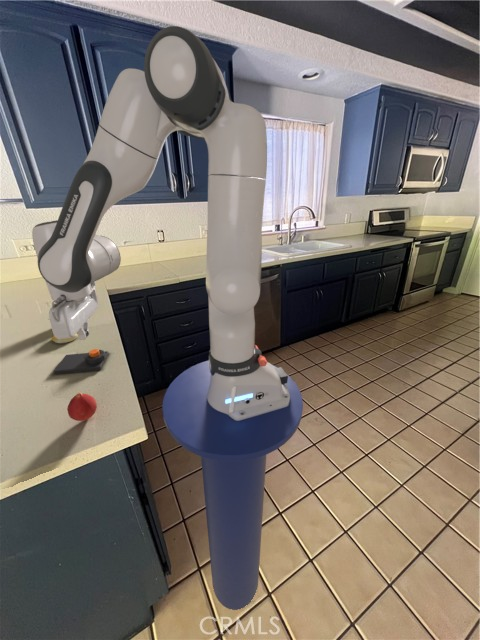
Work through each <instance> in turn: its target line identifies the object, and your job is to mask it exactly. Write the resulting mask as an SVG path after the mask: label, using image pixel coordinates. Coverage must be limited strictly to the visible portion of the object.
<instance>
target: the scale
mask: <svg viewBox="0 0 480 640" xmlns="http://www.w3.org/2000/svg"><path fill="white" fill-rule="evenodd" d="M98 350H99V353H100V355H99V356H97V357H92V358H91V357H90V355H89V352H83V353H81V352H80V353H72V354H71V353H70V354H65V356H64V357H63V358H62V359H61V361H60V362H59V363H58V365H57V366H56V367H55V368H54V370H53V374H54V375H59V374H71V373H81V372H91V371H101V370H102V369H103V366H104V364H105V363H106V361H107V359H108V357H109V355H110V353H109V350H106V351H105V350H103V349H98Z"/></svg>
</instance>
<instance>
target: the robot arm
mask: <svg viewBox="0 0 480 640" xmlns="http://www.w3.org/2000/svg"><path fill="white" fill-rule="evenodd" d="M145 51H146V52H145V55H144V62H143V63H144V64H143V70H141V69H138V68H129V67H128V68H125V69H123V70H122V71H120V72H119V74H118V75H117V77H116V79H115V82H114V83H113V85H112V87H111V89H110V92H109V94H108V96H107V99H106V101H105V104H104V108H103V110H102V114H101V117H100V119H99V124H98V127H97V130H96V134H95V137H94V140H93V142H92V145H91V147H90V150H89V152H88V154H87V157H86V158H85V160H84V161H83V163H82V165H80V167H79V169H78V170H77V172H76V174H75V175H74V177H73V179H72V182H71V184H70V186H69V189H68V192H67V195H66V197H65V198H64V199H65V200H64V203H63V205H62V208H61V210H60V213H59V216H58V219H57V220H51V221H45V222H40V223H38V224H36V225H34V226H33V227H32V230H31V231H32V232H31V237H32V244H33V247H34V251H35V254H36V258H37V267H38V271H39V273H40V276H41V277H42V278H43V279H44V281H45V284H46V287H47V289H48V293H49V295H50V298H51V300H52V303H51V308H50V309H49V311H48V318H49V323H50V327H51V331H52V335H53V334H54V336H55V337H56V338H57V339H68V338H72V337H73V336H74V335H75V334H77V335H78V337H77V338H78V340H80V341H85V340H86V339H87V338H88V337H89V335H91V333H90V330H89V326H90V322H89V319H90V318H91V317H92V316H93V314H95V312H96V311H97V310H98V308H99V299H98V294H97V290H96V282H97V281H99V280H101V279H103V278H105V277H107V276H110V275H111V274H113V273H114V272H115V271H117V270H118V269H119V267H120V265H121V259H122V257H121V252H120V249H119V248H118V246H117V244H116V243H114V241H113V240H111V238H109V237H107V236H105V235H98V234H97V231H98V229H99V226H100V224H101V222H102V220H103V218H104V216H105V214H106V213H107V212H108V211H109V210H110V209H111V208H112V207H113V206H114V205H116V204H117V203H118V202H120V201H122V200H123V199H125V198H127V197H130V196H131V195H134V194H136V193H138V192H140V191H143V190H144V189H145V187H146V186H147V184H148V182H149V181H150V179H151V178H152V176H153V174H154V172H155V169H156V166H157V165H158V162H159V159H160V156H161V153H162V150H163V147H164V145H165V143H166V140H167V139H168V137H169V136H170V135H171V134H172V133H174V132H177V133H178V134H180V135H182V136H186V137H190V138H193V139H197V140H202V141H205V143H206V147H207V155H208V156H207V157H208V159H207V161H208V163H207V164H208V168H207V175H208V176H207V222H206V223H207V224H206V225H207V226H206V256H205V257H206V263H205V267H206V268H205V289H206V294H207V296H208V327H209V346H210V348H209V351H208V360H209V369H210V373H211V378H210V385H209V390H208V393H207V400H208V402H209V404H210V405H211V406H212V407H213V408H214V409H216V410H217V411H219V412H222V413H225V414H227V415H229V416H230V417H231V418H232V419H234V420H236V421H240V420H243V419H247V418H250V417H254V416H257V415H260V414H264V413H267V412H271V411H274V410H277V409H281V408H284V407H287V406H288V405H289V403H290V394H289V391H288V388H287V386H286V384H285V383H287V381H288V376H289V374H287V372H286V371H285V370H284V369H283V367H282V366H280V367H277V368H275V367H276V366H275V365H274V364H272V363H271V362H268V361H267V359H266V357H265V356H264V355H263V353H262V351H261V350H260V348H259V347H258V345H256V344H255V343H256V341H255V340H256V318H255V317H256V316H255V306H256V305H257V303H258V302H259V298H260V297H261V287H262V286H261V282H262V263H263V262H262V258H263V257H262V256H263V231H262V229H263V214H264V203H265V193H266V184H267V171H268V138H267V137H268V136H267V126H266V121H265V119H264V118H265V117H264V116H263V115H262V113H261V112H260V111H259V110H258V109H256V108H255V107H253V106H251V105H249V104H246V103H237V102H233V101H232V97H231V93H230V90H229V88H228V86H227V84H226V81H225V78H224V75H223V73H222V71H221V68H220V67H219V65H218V63H217V62H216V60H215V59H214V57H213V55H212V53H211V52H210V50H209V48H208V47H207V46H206V44H205V42H204V41H202V40H201V38H199V37H198V36H197V35H196V34H195V33H193V32H192V31H191V30H189V29H186V28H184V27H181V26H179V25H171V26H167V27H163V28H162V29H160V30H159V31H157V32H156V33H155V35H154V36H153V37H152V38H151V40H150V42H149V43H148V46H147V48H146V50H145ZM273 365H274V366H275V367H274V366H273ZM241 414H243V415H241Z"/></svg>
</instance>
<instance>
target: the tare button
mask: <svg viewBox="0 0 480 640" xmlns="http://www.w3.org/2000/svg"><path fill="white" fill-rule="evenodd" d="M99 350H100V349H99V348H93V349H90V350H89V351H88V353H89V355H90V357H91V358H92V357H97V356H99V355H100V353H99Z"/></svg>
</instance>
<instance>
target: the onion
mask: <svg viewBox="0 0 480 640" xmlns="http://www.w3.org/2000/svg"><path fill="white" fill-rule="evenodd" d="M97 408H98V403H97V401H96V399H95V397H94V396H92V395H90V394H88V393H82V392H76V394H75V395H74V396H73V397H72V398H71V399H70V401H69V403H68V406H67V408H66V409H67V414H68V416H69V418H70V419H72V420H73V421H76V422H79V421H80V422H84V421H88V420H90V418H92V417H93V416H94V414H95V413H96V411H97Z"/></svg>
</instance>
